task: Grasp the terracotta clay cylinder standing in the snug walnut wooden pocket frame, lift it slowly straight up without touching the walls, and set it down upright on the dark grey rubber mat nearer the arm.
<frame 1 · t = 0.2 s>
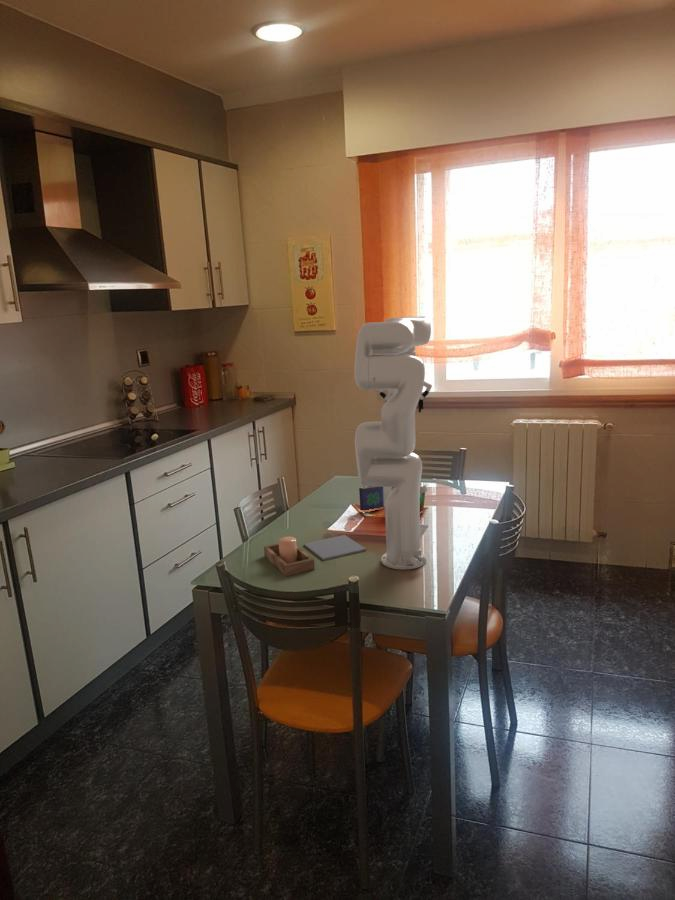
hand: (404, 412, 208), 37 cm above the table, tool pointing down, fingers open, 9 cm apart
rubber mat: (334, 548, 198), on the table
food container: (408, 515, 225), on the table
pocket frame: (288, 562, 188), on the table
flask: (372, 511, 231), on the table
clay cylinder: (288, 551, 188), in the pocket frame
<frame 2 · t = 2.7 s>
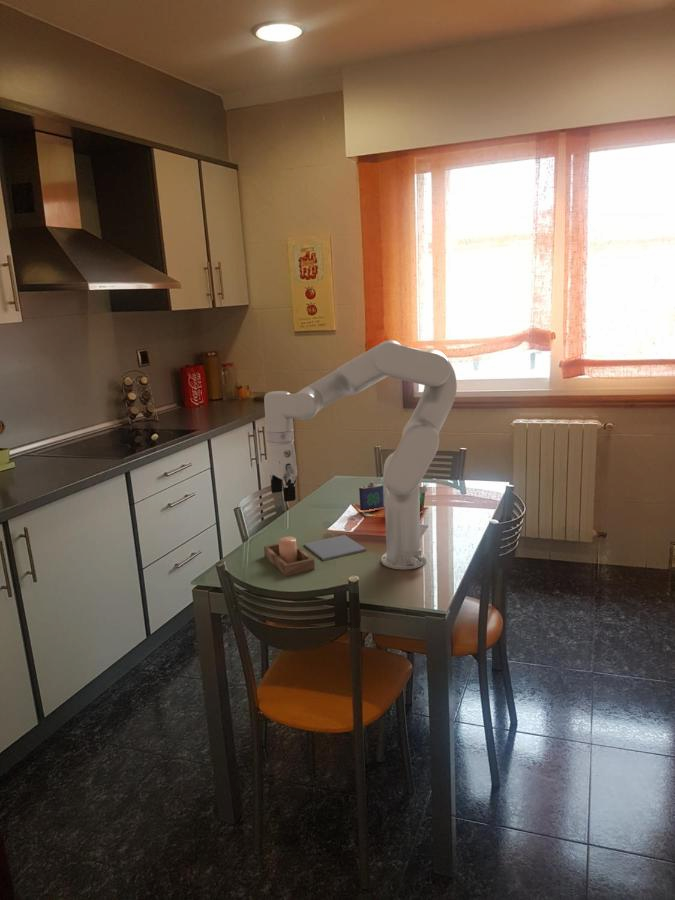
hand: (283, 496, 184), 20 cm above the table, tool pointing down, fingers open, 9 cm apart
nothing on the table moved.
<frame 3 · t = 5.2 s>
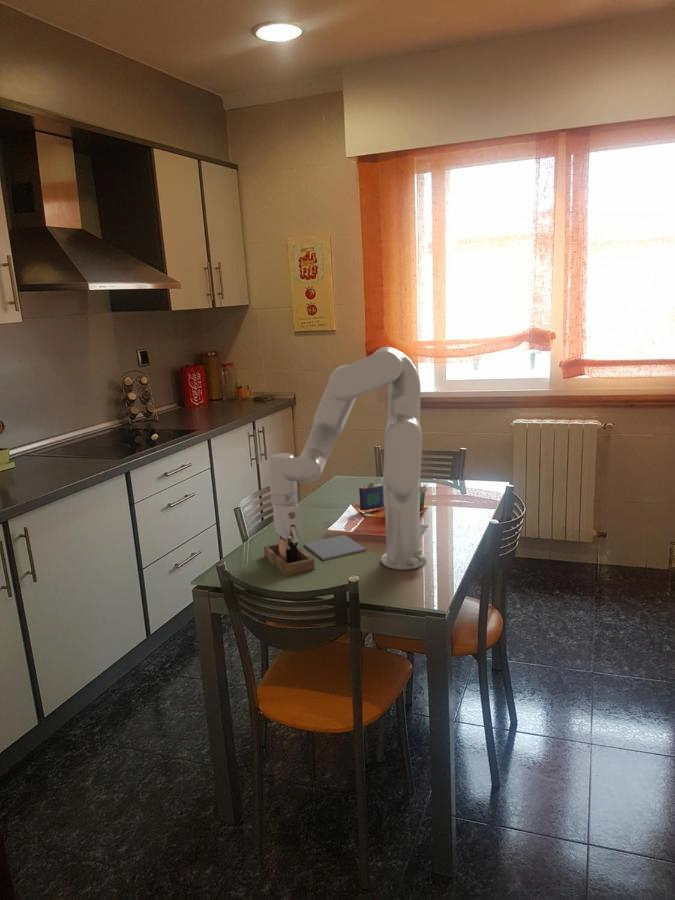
hand: (288, 557, 188), 1 cm above the table, tool pointing down, fingers closed on clay cylinder, 5 cm apart
clay cylinder: (288, 551, 188), in the pocket frame, touching gripper
everything else where it was.
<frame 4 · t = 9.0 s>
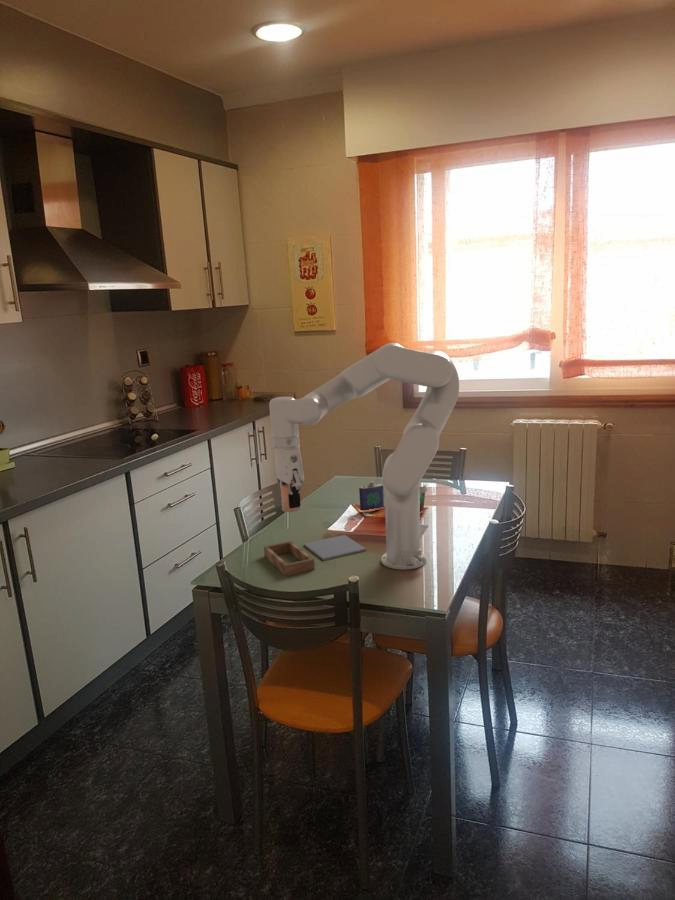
hand: (290, 504, 185), 17 cm above the table, tool pointing down, fingers closed on clay cylinder, 5 cm apart
clay cylinder: (290, 497, 185), point 19 cm above the table, touching gripper
everything else where it was.
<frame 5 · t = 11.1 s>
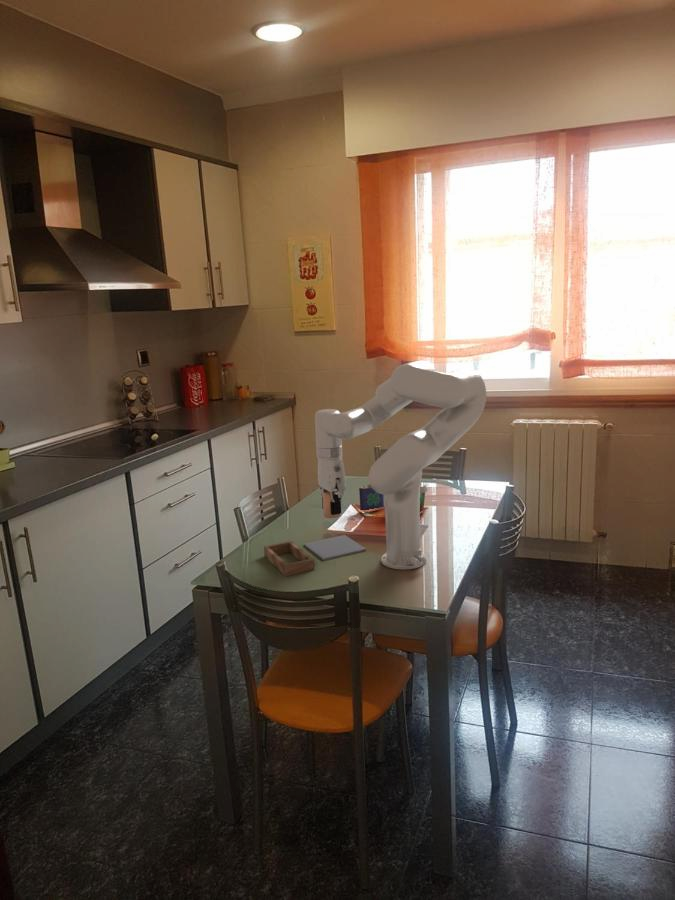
hand: (331, 510, 195), 12 cm above the table, tool pointing down, fingers closed on clay cylinder, 5 cm apart
clay cylinder: (331, 504, 195), point 14 cm above the table, touching gripper
everything else where it was.
when the fingers open (4 cm above the table, at t = 12.8 s): clay cylinder drops 2 cm, resting on rubber mat.
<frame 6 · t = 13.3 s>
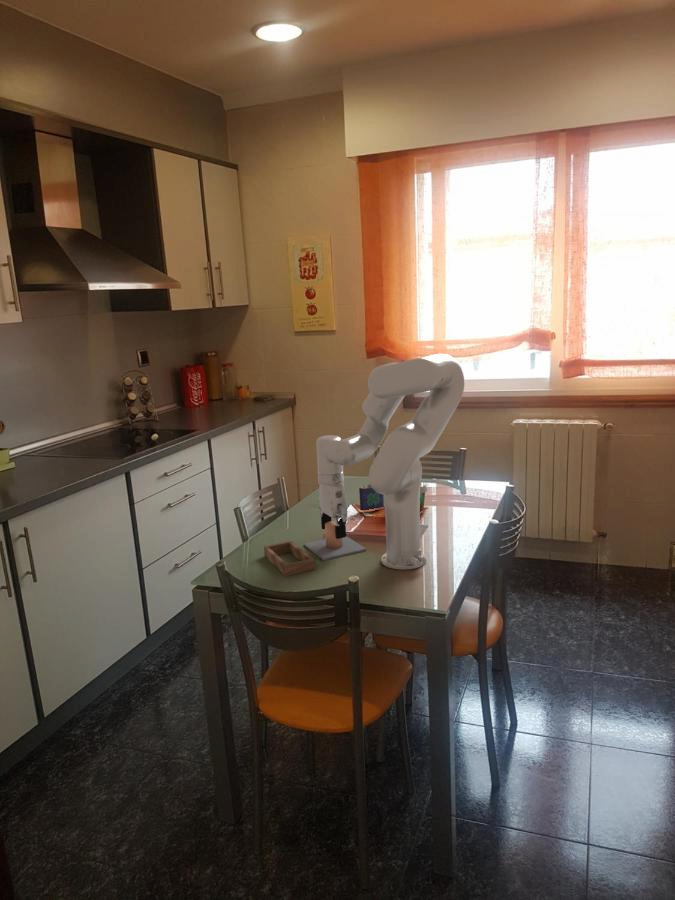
hand: (333, 532, 197), 5 cm above the table, tool pointing down, fingers open, 9 cm apart
clay cylinder: (333, 535, 197), on the rubber mat, point 4 cm above the table
everything else where it was.
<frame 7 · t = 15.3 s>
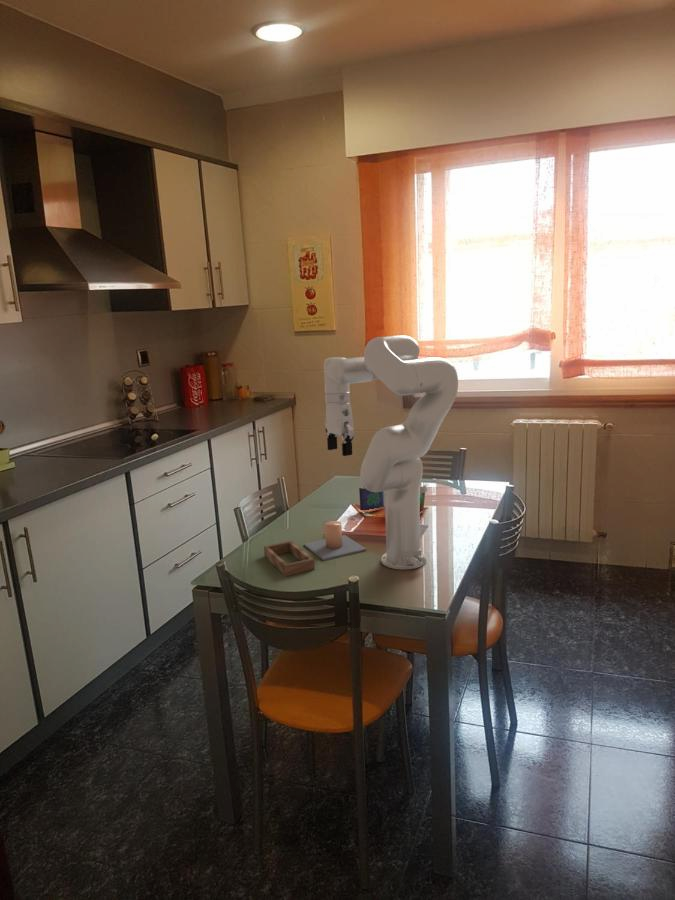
hand: (339, 452, 205), 26 cm above the table, tool pointing down, fingers open, 9 cm apart
nothing on the table moved.
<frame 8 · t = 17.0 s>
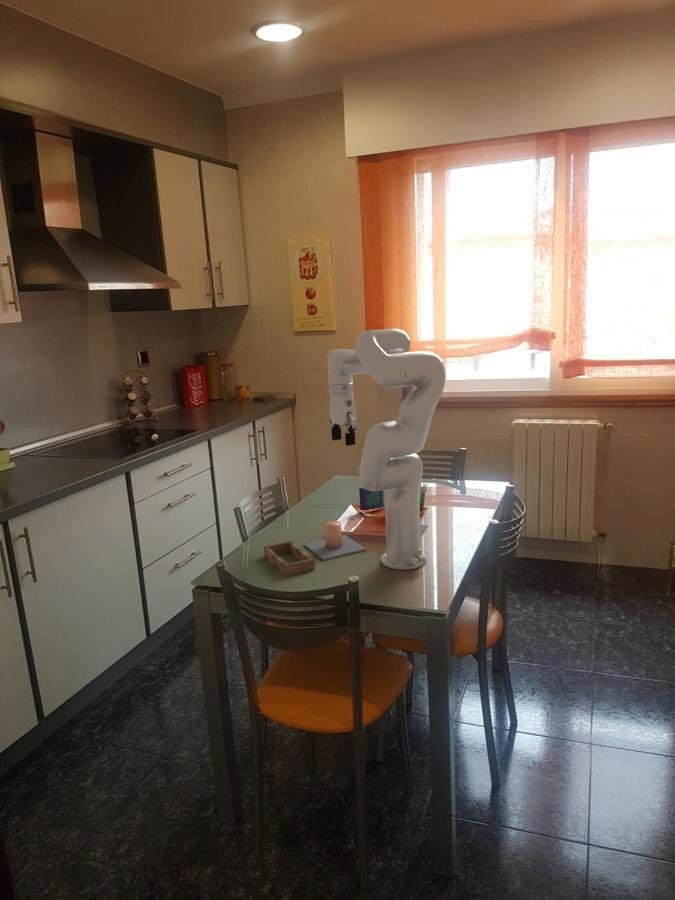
hand: (343, 442, 210), 28 cm above the table, tool pointing down, fingers open, 9 cm apart
nothing on the table moved.
at the end: clay cylinder inside the target area on the rubber mat (0.1 cm from its centre), point 4.2 cm above the rubber mat's base; clay cylinder tilted 2°; the gripper is holding nothing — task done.
